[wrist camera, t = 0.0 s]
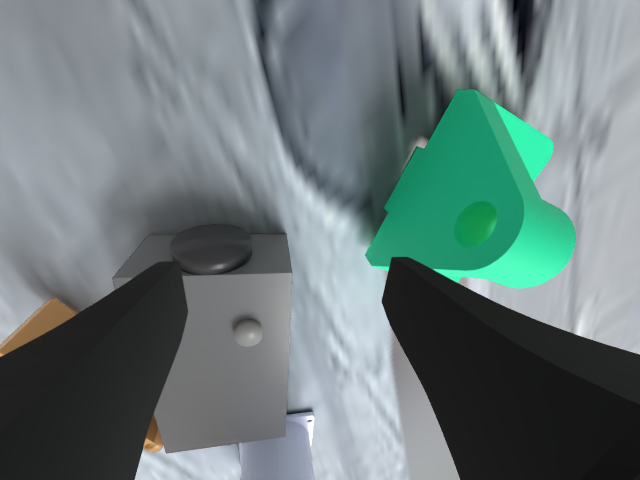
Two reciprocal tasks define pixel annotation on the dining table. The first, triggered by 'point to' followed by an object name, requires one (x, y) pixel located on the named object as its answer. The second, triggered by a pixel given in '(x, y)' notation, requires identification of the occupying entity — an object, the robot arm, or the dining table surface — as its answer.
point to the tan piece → (45, 321)
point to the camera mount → (477, 201)
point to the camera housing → (224, 336)
